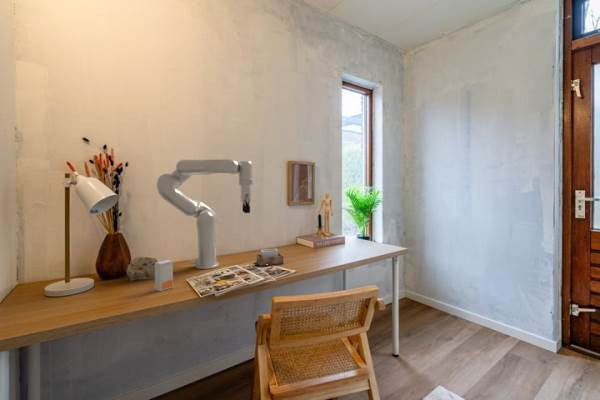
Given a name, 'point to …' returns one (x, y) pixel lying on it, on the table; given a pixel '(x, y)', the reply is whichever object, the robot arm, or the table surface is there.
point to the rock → (142, 268)
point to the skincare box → (163, 275)
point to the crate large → (270, 260)
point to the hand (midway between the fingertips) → (246, 212)
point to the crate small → (269, 253)
